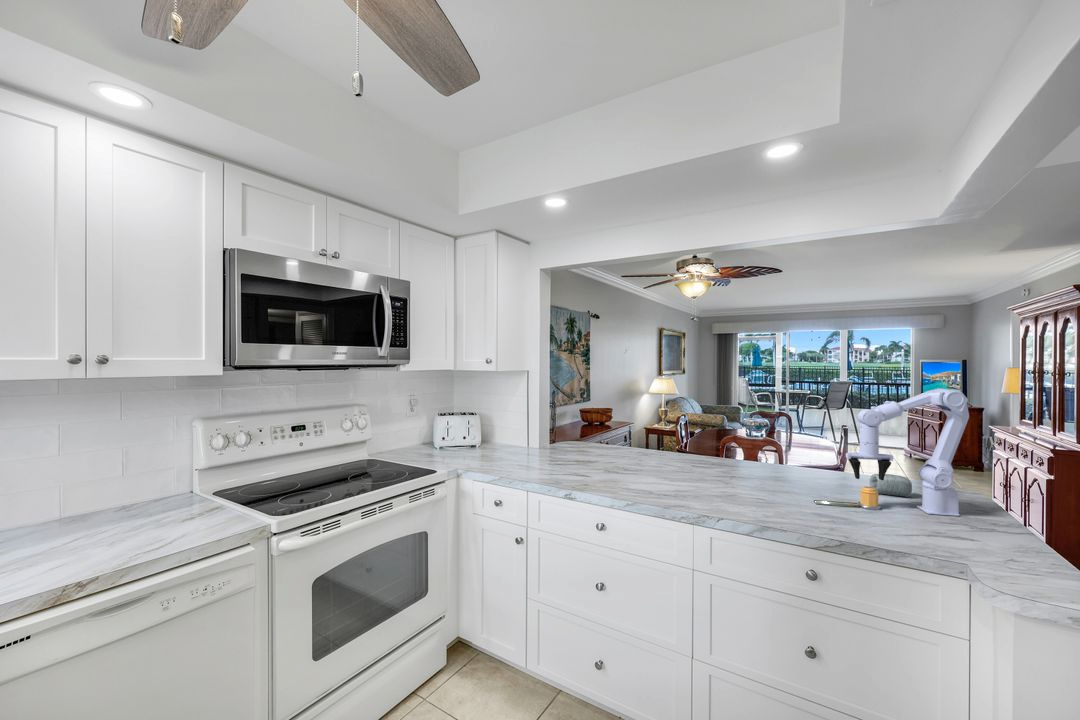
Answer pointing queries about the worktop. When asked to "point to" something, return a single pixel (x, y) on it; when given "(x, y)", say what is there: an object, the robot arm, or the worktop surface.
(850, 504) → the rod
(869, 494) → the wire nut
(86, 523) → the worktop surface
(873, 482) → the grey rounded block
